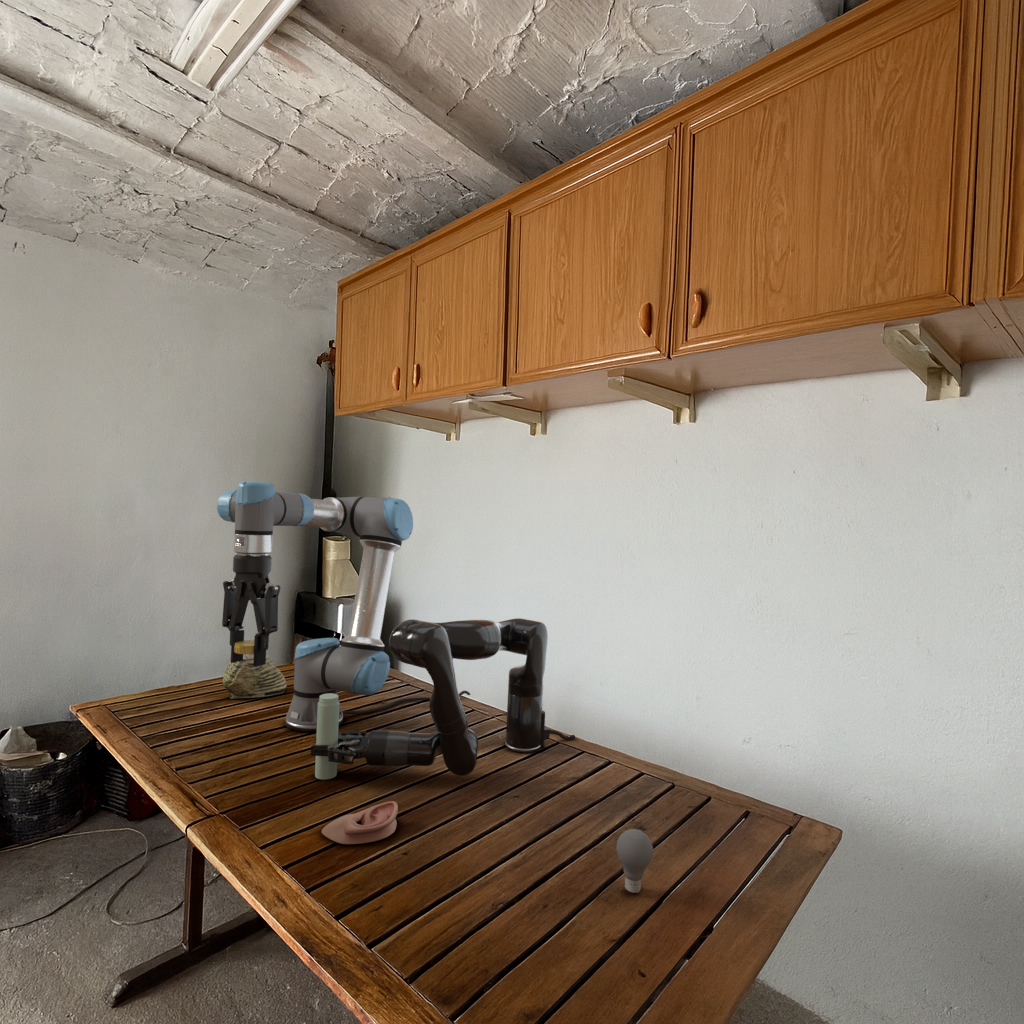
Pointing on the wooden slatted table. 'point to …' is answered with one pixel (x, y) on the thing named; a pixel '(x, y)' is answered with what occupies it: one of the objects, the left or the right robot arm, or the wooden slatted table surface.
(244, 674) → the fossil
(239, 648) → the lid
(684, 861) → the wooden slatted table surface
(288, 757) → the wooden slatted table surface
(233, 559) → the left robot arm
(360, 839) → the anatomical model
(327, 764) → the jar
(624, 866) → the light bulb
